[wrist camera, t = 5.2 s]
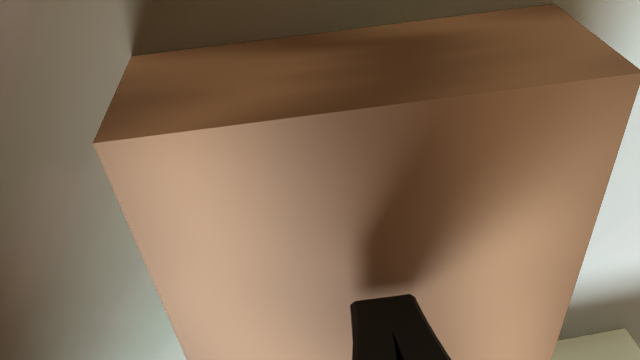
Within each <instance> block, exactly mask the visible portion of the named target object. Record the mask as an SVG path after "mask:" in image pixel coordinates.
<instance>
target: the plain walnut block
mask: <svg viewBox="0 0 640 360" xmlns="http://www.w3.org/2000/svg"><path fill="white" fill-rule="evenodd" d="M639 85H640V69H638V68H637V67H636V66H635V65H633V64H632V63H631V62H629V61H628V60H627V59H625V58H624V57H623V56H621V55H620V54H619V53H618V52H616V51H615V50H614V49H612V48H611V47H610V46H608V45H607V44H606V43H605V42H603V41H602V40H601V39H599V38H598V37H597V36H595V35H594V34H593V33H592V32H590V31H589V30H588V29H586V28H585V27H584V26H582V25H581V24H580V23H578V22H577V21H576V20H575V19H573V18H572V17H571V16H569V15H568V14H567V13H565V12H564V11H563V10H562V9H560V8H559V7H558V6H556V5H555V4H550V5H542V6H533V7H525V8H517V9H509V10H501V11H493V12H485V13H477V14H469V15H461V16H453V17H445V18H437V19H429V20H421V21H412V22H404V23H396V24H388V25H380V26H372V27H364V28H356V29H348V30H340V31H332V32H324V33H316V34H308V35H300V36H291V37H283V38H275V39H267V40H259V41H251V42H243V43H235V44H227V45H219V46H211V47H203V48H195V49H187V50H179V51H170V52H162V53H154V54H146V55H138V56H131V58H130V61H129V63H128V65H127V67H126V70H125V72H124V74H123V76H122V79H121V81H120V83H119V85H118V88H117V90H116V92H115V94H114V97H113V99H112V101H111V103H110V105H109V108H108V110H107V112H106V114H105V117H104V119H103V121H102V123H101V126H100V128H99V130H98V132H97V135H96V137H95V139H94V141H93V145H94V148H95V150H96V152H97V155H98V157H99V159H100V161H101V164H102V166H103V168H104V171H105V173H106V175H107V178H108V180H109V182H110V184H111V187H112V189H113V191H114V194H115V196H116V198H117V201H118V203H119V205H120V207H121V210H122V212H123V214H124V217H125V219H126V221H127V224H128V226H129V228H130V230H131V233H132V235H133V237H134V240H135V242H136V244H137V247H138V249H139V251H140V253H141V256H142V258H143V260H144V263H145V265H146V267H147V270H148V272H149V274H150V276H151V279H152V281H153V283H154V286H155V288H156V290H157V293H158V295H159V297H160V299H161V302H162V304H163V306H164V309H165V311H166V313H167V316H168V318H169V320H170V322H171V325H172V327H173V329H174V332H175V334H176V336H177V339H178V341H179V343H180V345H181V348H182V350H183V352H184V355H185V357H186V359H187V360H352V349H353V340H352V326H351V312H350V305H351V304H352V303H353V302H354V301H359V300H367V299H375V298H382V297H390V296H398V295H406V294H411V295H413V296H414V297H415V298H416V300H417V302H418V304H419V306H420V308H421V310H422V312H423V314H424V316H425V317H426V319H427V321H428V323H429V325H430V326H431V328H432V330H433V331H434V333H435V335H436V336H437V338H438V339H439V341H440V343H441V344H442V346H443V347H444V349H445V351H446V352H447V354H448V355H449V357H450V358H451V360H551V359H552V356H553V353H554V350H555V347H556V344H557V341H558V337H559V334H560V331H561V328H562V325H563V322H564V319H565V316H566V313H567V309H568V306H569V303H570V300H571V297H572V294H573V291H574V288H575V285H576V281H577V278H578V275H579V272H580V269H581V266H582V263H583V260H584V256H585V253H586V250H587V247H588V244H589V241H590V238H591V235H592V232H593V228H594V225H595V222H596V219H597V216H598V213H599V210H600V207H601V204H602V200H603V197H604V194H605V191H606V188H607V185H608V182H609V179H610V175H611V172H612V169H613V166H614V163H615V160H616V157H617V154H618V151H619V147H620V144H621V141H622V138H623V135H624V132H625V129H626V126H627V123H628V119H629V116H630V113H631V110H632V107H633V104H634V101H635V98H636V94H637V91H638V88H639Z"/></svg>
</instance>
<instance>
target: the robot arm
mask: <svg viewBox="0 0 640 360" xmlns="http://www.w3.org/2000/svg"><path fill="white" fill-rule="evenodd" d="M350 312H351V326H352V340H353V349H352V360H451V358H450V357H449V355H448V354H447V352H446V351H445V349H444V347H443V346H442V344H441V343H440V341H439V339H438V338H437V336H436V335H435V333H434V331H433V330H432V328H431V326H430V325H429V323H428V321H427V319H426V317H425V316H424V314H423V312H422V310H421V308H420V306H419V304H418V302H417V300H416V298H415V297H414V296H413V295H411V294H406V295H398V296H390V297H382V298H375V299H367V300H359V301H354V302H353V303H352V304H351V305H350Z"/></svg>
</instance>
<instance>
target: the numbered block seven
mask: <svg viewBox="0 0 640 360" xmlns="http://www.w3.org/2000/svg"><path fill="white" fill-rule="evenodd" d="M551 360H640V349H639V347H638V346H637V344H636V343H635V341H634V340H633V338H632V336H631V335H630V333H629V332H628V330H627V329H626V328H623V329H618V330H612V331H607V332H601V333H596V334H590V335H585V336H580V337H574V338H569V339H563V340H558V341H557V344H556V347H555V350H554V353H553V356H552V359H551Z"/></svg>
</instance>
